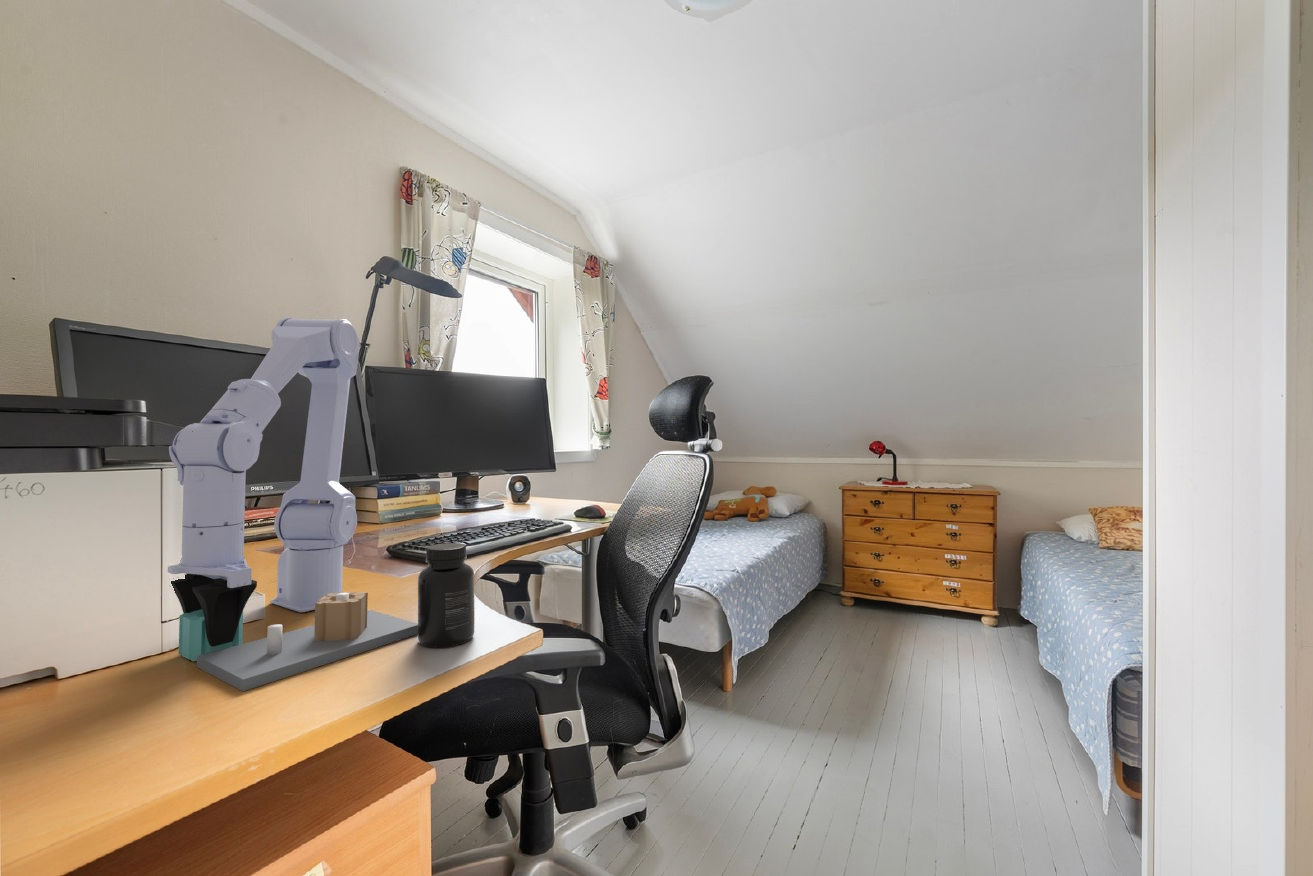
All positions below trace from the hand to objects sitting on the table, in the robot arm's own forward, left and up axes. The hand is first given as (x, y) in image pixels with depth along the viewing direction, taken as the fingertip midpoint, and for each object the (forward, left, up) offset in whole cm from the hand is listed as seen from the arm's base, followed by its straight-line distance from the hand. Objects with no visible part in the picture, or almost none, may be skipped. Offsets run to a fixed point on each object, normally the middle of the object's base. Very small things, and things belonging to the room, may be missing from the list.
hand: (211, 638), depth 64 cm
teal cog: (0, 0, -1) cm, 1 cm away
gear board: (+9, +7, -2) cm, 12 cm away
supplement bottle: (+19, +18, -2) cm, 26 cm away
